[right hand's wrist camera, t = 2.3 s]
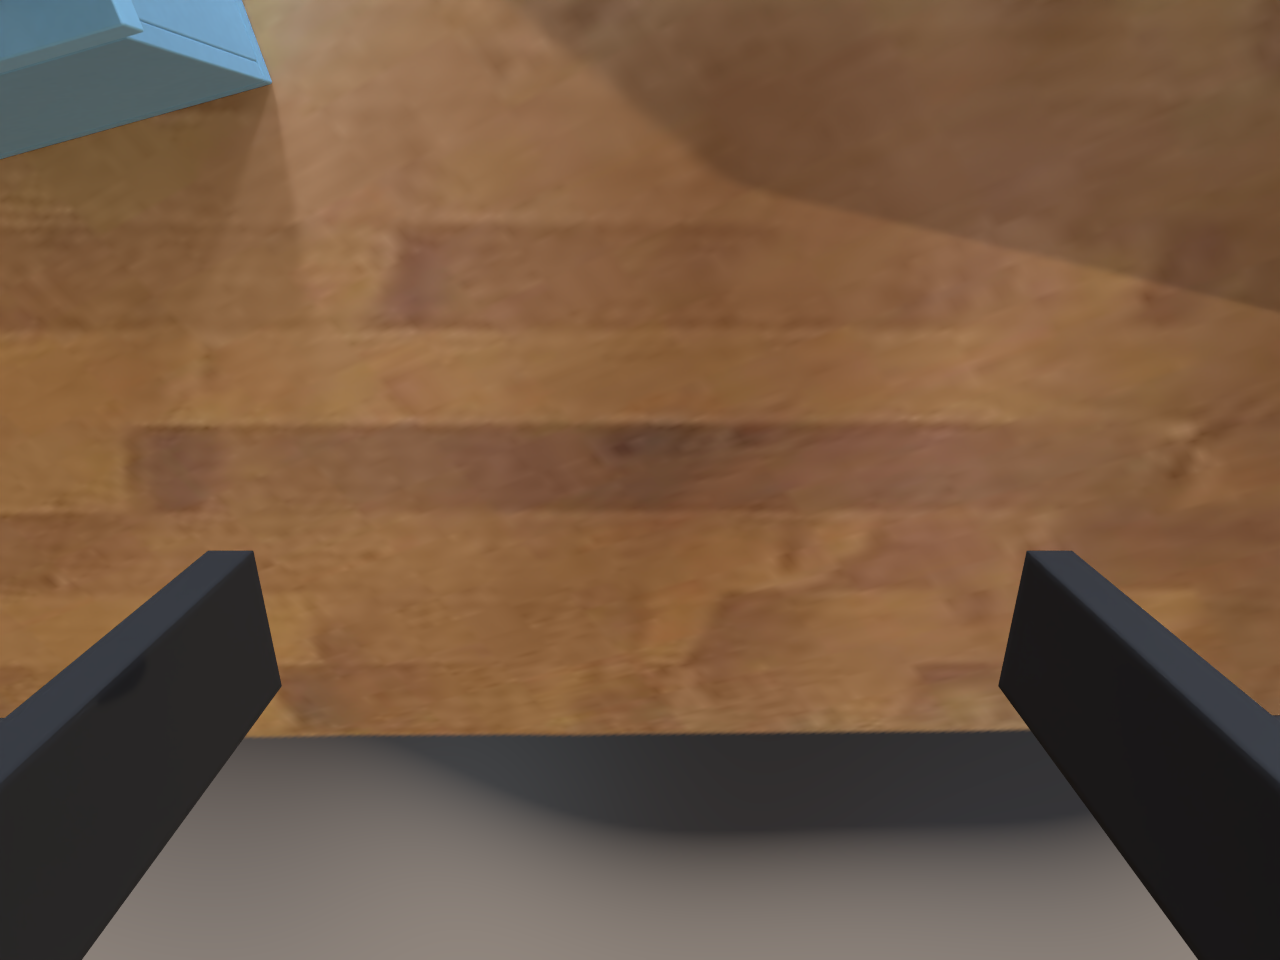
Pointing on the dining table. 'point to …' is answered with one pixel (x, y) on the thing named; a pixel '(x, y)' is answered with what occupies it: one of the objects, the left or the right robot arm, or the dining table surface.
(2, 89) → the chest
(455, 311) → the dining table surface
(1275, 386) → the dining table surface
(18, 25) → the lid
